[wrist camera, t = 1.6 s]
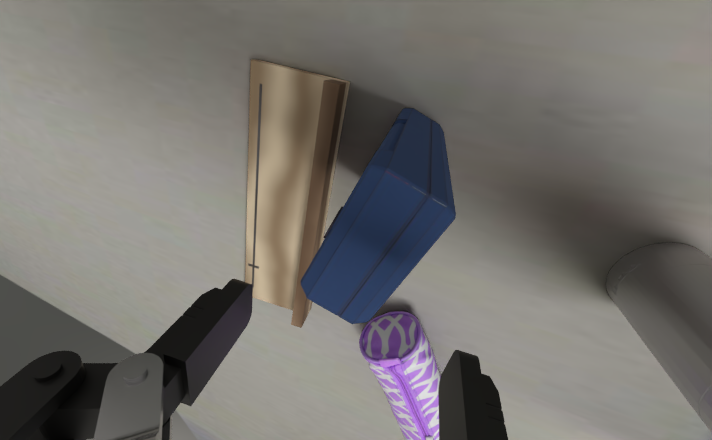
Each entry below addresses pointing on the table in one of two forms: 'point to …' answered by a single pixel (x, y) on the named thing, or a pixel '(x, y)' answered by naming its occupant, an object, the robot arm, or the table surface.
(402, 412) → the pencil case
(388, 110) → the table surface
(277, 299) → the guide board
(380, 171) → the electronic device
